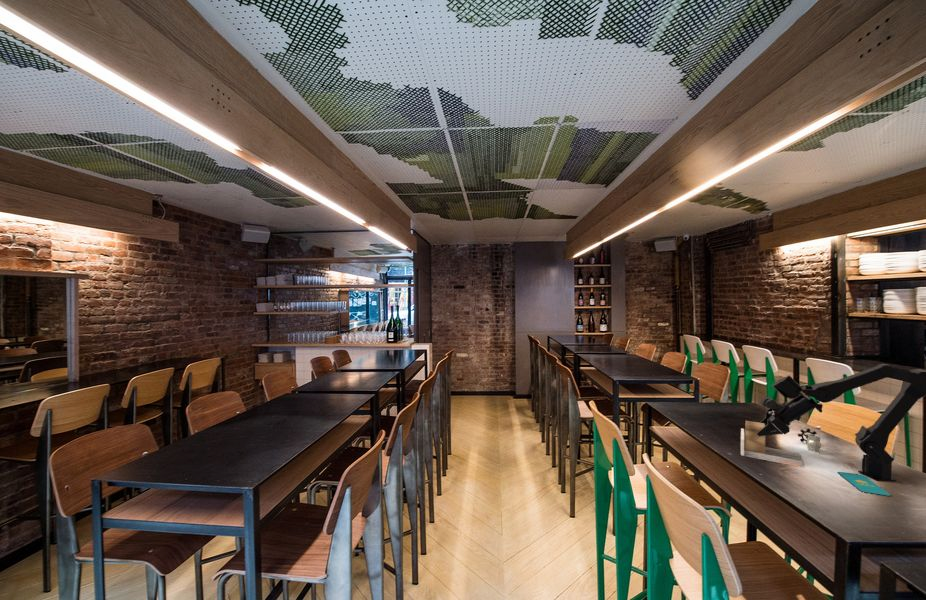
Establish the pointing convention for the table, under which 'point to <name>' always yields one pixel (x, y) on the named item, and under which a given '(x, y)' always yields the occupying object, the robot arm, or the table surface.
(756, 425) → the tan wooden block
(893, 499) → the table surface
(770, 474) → the table surface
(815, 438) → the valve
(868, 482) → the smartphone
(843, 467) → the table surface
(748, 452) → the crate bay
